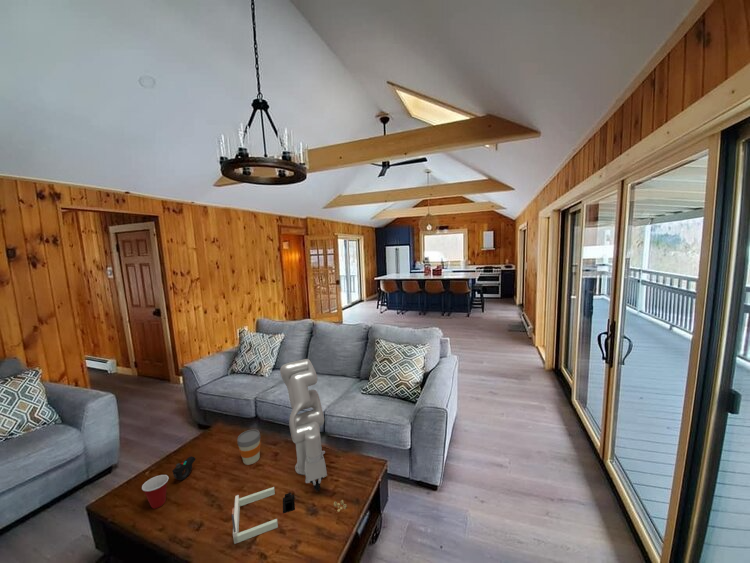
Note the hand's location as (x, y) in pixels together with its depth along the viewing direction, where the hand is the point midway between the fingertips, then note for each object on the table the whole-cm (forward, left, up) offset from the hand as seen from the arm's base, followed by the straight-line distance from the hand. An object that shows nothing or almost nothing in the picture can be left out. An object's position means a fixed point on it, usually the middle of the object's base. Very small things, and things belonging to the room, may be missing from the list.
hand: (317, 489), depth 150 cm
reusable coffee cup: (+31, -42, -2) cm, 52 cm away
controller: (+65, -44, -2) cm, 78 cm away
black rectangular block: (+14, 0, -3) cm, 14 cm away
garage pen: (+29, 0, -2) cm, 29 cm away
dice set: (-8, +12, -3) cm, 15 cm away
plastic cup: (+74, -29, -2) cm, 79 cm away
